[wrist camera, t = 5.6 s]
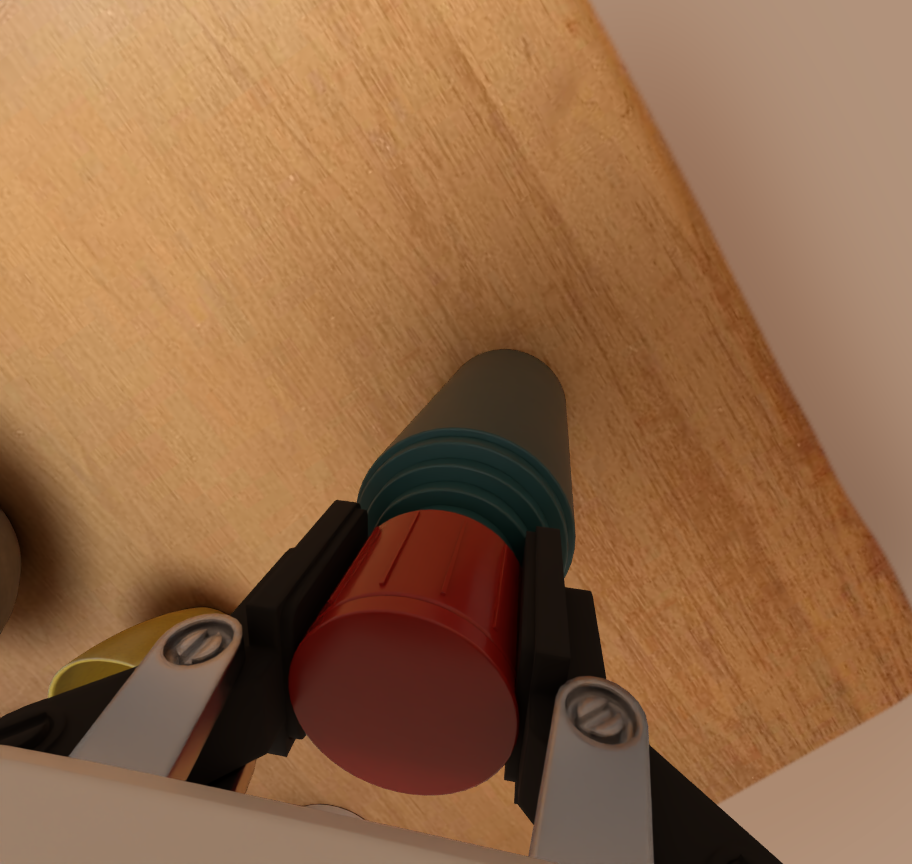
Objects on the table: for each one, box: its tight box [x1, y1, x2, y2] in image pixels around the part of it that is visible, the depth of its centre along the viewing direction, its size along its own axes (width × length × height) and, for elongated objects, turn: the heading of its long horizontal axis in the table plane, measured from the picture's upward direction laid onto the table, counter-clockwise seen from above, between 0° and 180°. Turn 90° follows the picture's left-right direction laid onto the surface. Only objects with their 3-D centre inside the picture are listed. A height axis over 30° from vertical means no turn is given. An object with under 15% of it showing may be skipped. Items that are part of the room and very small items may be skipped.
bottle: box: [357, 349, 576, 578], centre depth 16 cm, size 6×6×17 cm
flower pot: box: [48, 607, 226, 698], centre depth 29 cm, size 10×10×7 cm
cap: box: [288, 510, 523, 795], centre depth 9 cm, size 4×4×3 cm
